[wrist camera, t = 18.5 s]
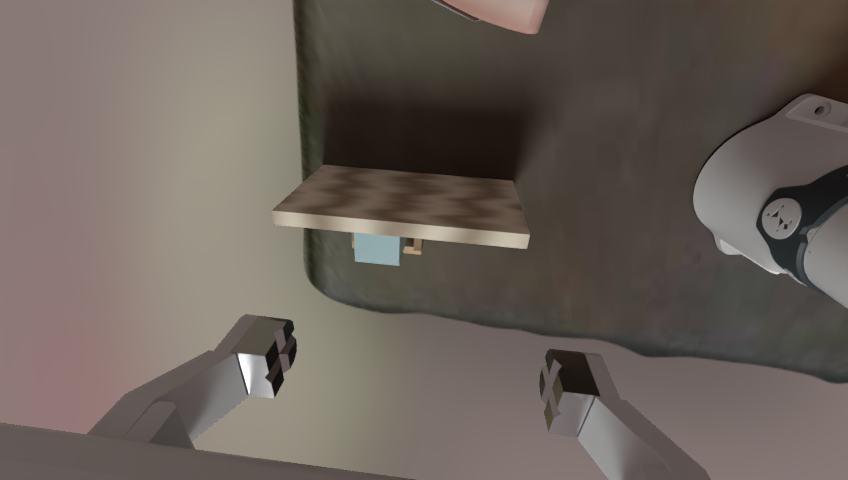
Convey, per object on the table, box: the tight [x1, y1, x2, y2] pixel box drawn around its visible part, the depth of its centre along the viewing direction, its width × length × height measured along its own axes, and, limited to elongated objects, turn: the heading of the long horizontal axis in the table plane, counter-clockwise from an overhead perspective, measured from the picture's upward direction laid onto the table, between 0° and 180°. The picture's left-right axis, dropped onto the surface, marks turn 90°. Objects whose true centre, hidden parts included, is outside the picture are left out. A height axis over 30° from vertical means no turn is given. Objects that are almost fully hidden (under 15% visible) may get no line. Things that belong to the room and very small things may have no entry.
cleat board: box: [272, 165, 530, 255], centre depth 42 cm, size 24×10×14 cm, turn 87°
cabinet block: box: [354, 232, 407, 266], centre depth 44 cm, size 5×6×10 cm
